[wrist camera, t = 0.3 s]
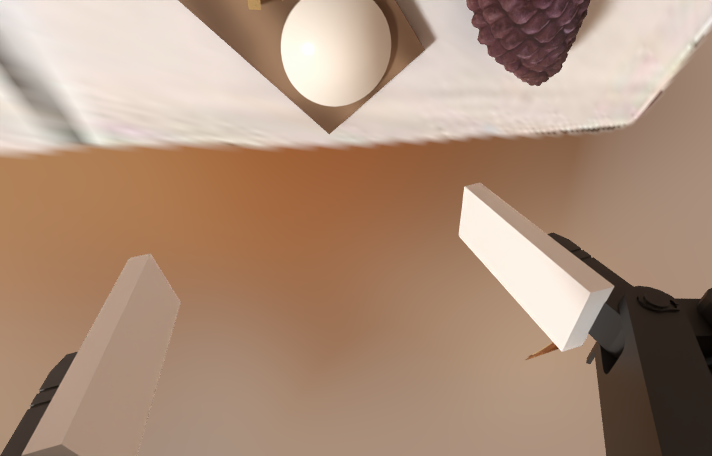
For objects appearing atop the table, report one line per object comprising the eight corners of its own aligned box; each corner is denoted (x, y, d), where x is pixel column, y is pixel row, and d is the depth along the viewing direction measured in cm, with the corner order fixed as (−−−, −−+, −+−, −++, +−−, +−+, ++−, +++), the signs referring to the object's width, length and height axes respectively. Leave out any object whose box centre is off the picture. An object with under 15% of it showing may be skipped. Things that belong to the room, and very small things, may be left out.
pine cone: (552, 42, 38) (612, 81, 31) (473, 90, 40) (515, 134, 34) (548, -163, 25) (649, -167, 18) (432, -73, 27) (486, -50, 21)
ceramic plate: (341, -51, 26) (343, -49, 25) (408, 52, 33) (410, 56, 33) (256, 49, 30) (256, 52, 29) (332, 121, 38) (333, 124, 37)
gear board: (250, -239, 19) (250, -244, 18) (419, 44, 34) (424, 49, 33) (137, -44, 25) (133, -40, 24) (327, 127, 40) (329, 134, 39)
